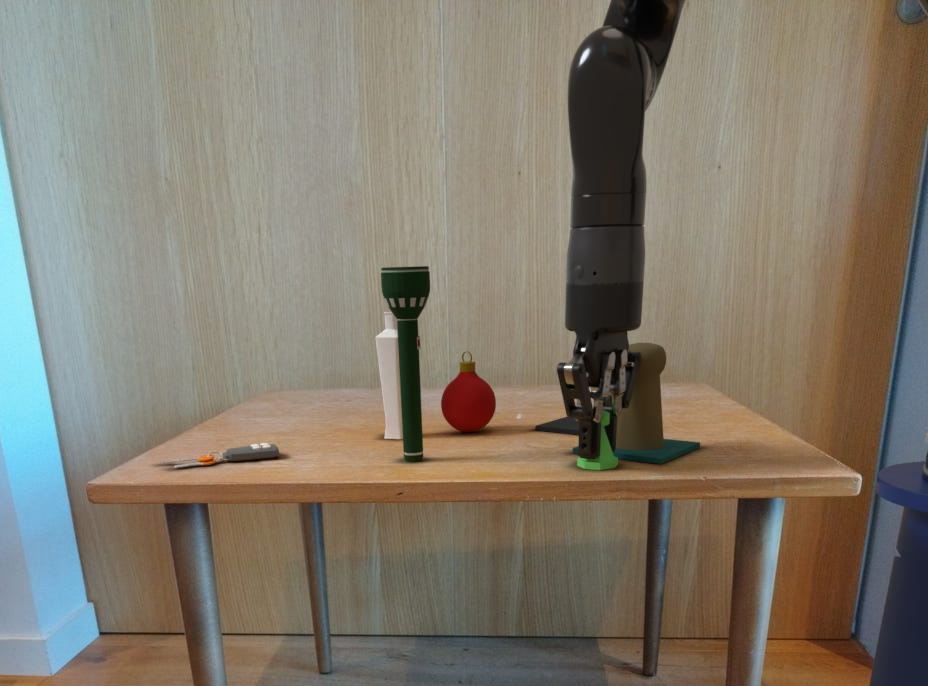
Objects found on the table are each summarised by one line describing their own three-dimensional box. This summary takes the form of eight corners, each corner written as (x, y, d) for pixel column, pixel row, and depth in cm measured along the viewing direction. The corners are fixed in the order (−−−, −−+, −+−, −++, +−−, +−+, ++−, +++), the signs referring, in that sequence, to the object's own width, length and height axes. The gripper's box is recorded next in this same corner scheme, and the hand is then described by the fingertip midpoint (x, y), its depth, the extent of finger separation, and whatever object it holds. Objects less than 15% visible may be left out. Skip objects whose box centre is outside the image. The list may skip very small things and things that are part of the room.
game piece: (579, 470, 88) (581, 411, 86) (575, 461, 92) (576, 405, 90) (620, 469, 88) (623, 410, 86) (614, 460, 92) (617, 404, 90)
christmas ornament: (430, 433, 110) (427, 352, 106) (465, 425, 115) (464, 347, 111) (472, 439, 106) (471, 355, 102) (507, 430, 111) (506, 349, 107)
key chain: (274, 453, 102) (273, 440, 101) (280, 458, 99) (279, 445, 98) (162, 464, 98) (160, 451, 97) (165, 470, 94) (163, 457, 94)
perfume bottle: (422, 434, 110) (417, 310, 104) (407, 440, 106) (401, 312, 100) (391, 432, 112) (384, 311, 106) (375, 438, 108) (367, 313, 102)
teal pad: (700, 447, 97) (700, 442, 97) (661, 464, 90) (662, 458, 90) (614, 438, 103) (614, 433, 103) (572, 453, 96) (572, 448, 96)
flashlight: (428, 465, 93) (420, 266, 85) (384, 464, 94) (372, 268, 86) (441, 456, 97) (435, 265, 89) (400, 454, 99) (390, 267, 90)
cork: (646, 438, 100) (653, 339, 95) (674, 447, 95) (682, 343, 90) (600, 442, 98) (604, 342, 94) (626, 452, 93) (631, 347, 89)
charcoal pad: (626, 426, 111) (626, 421, 110) (596, 436, 105) (596, 431, 105) (566, 420, 116) (567, 416, 115) (534, 430, 110) (535, 425, 110)
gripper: (603, 280, 76) (595, 472, 83) (671, 275, 86) (658, 447, 93) (533, 281, 80) (531, 463, 87) (605, 277, 90) (598, 440, 97)
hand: (597, 454), depth 90 cm, fingers open, 3 cm apart
